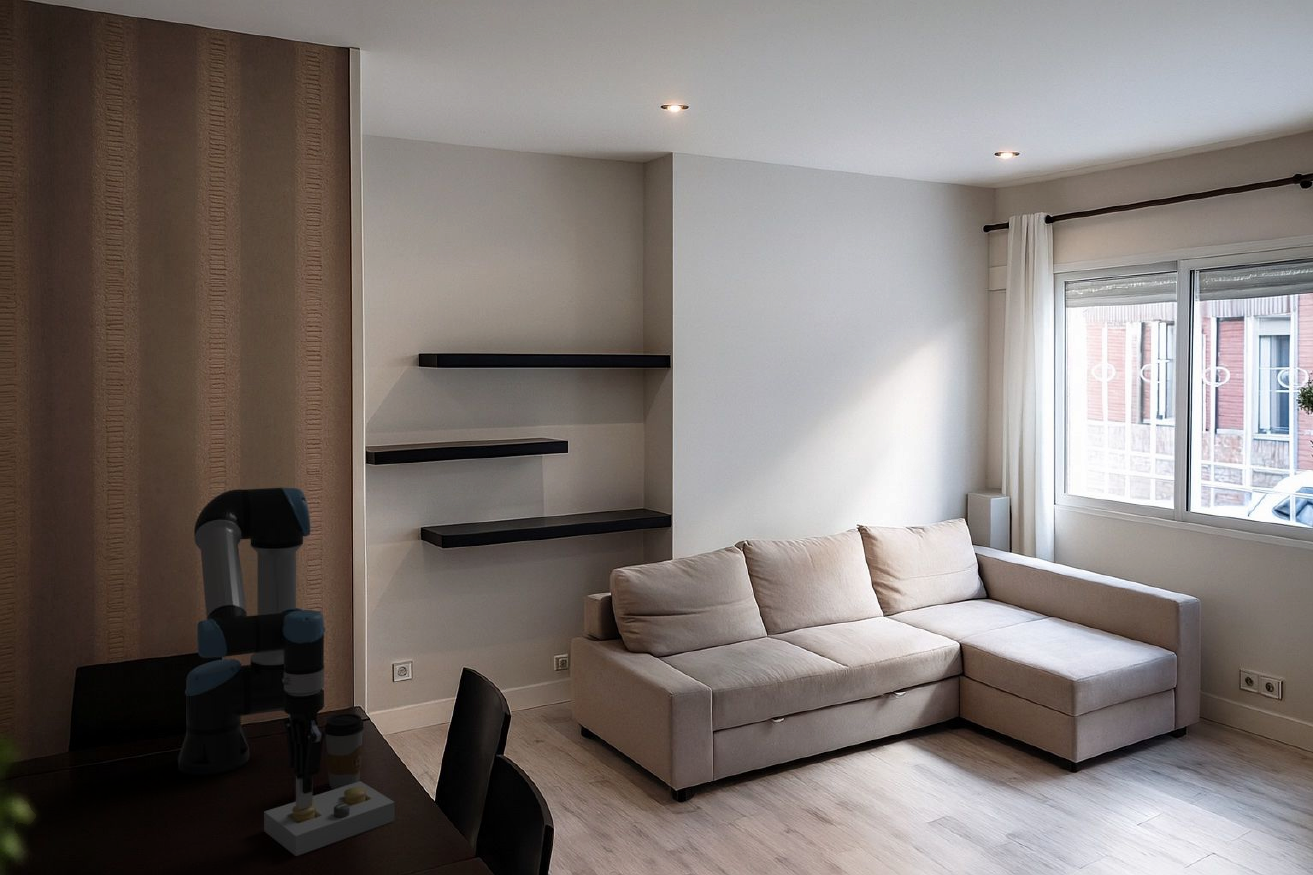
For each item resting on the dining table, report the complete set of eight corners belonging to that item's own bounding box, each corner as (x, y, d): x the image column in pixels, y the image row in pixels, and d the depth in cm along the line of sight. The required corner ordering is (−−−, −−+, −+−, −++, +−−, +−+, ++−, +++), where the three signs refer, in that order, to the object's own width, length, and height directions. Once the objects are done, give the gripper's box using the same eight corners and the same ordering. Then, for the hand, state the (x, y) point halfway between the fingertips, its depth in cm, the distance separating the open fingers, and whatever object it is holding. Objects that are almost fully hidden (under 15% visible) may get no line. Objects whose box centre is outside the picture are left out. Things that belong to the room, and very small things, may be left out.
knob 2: (340, 809, 196) (340, 791, 196) (359, 803, 199) (359, 784, 199) (350, 816, 193) (350, 797, 193) (370, 810, 196) (370, 791, 196)
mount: (264, 830, 190) (264, 802, 189) (360, 799, 205) (360, 772, 205) (296, 856, 180) (295, 826, 180) (394, 820, 195) (394, 793, 195)
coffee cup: (351, 794, 207) (351, 727, 206) (317, 790, 209) (317, 724, 208) (370, 779, 215) (370, 714, 214) (337, 775, 217) (337, 711, 216)
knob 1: (288, 826, 188) (288, 807, 188) (309, 819, 192) (309, 800, 191) (298, 834, 185) (298, 814, 185) (319, 827, 188) (319, 807, 188)
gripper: (270, 686, 189) (271, 801, 190) (300, 702, 180) (301, 823, 181) (306, 678, 194) (307, 790, 195) (337, 693, 185) (337, 811, 186)
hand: (304, 806), depth 188 cm, fingers closed
